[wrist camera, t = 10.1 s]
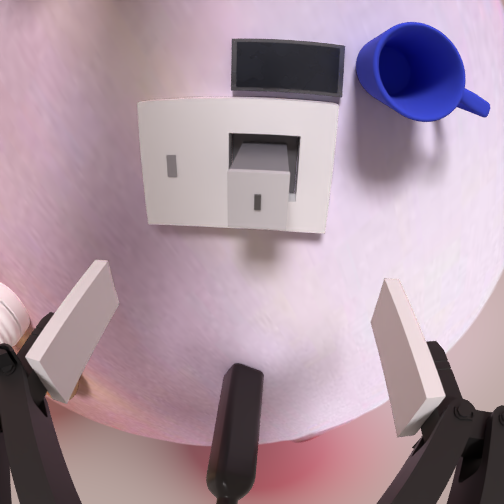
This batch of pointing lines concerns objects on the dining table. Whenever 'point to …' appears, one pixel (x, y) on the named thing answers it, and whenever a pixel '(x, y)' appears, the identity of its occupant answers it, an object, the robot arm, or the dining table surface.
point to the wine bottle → (236, 435)
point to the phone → (287, 66)
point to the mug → (417, 73)
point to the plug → (259, 186)
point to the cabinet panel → (220, 155)
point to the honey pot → (12, 317)
